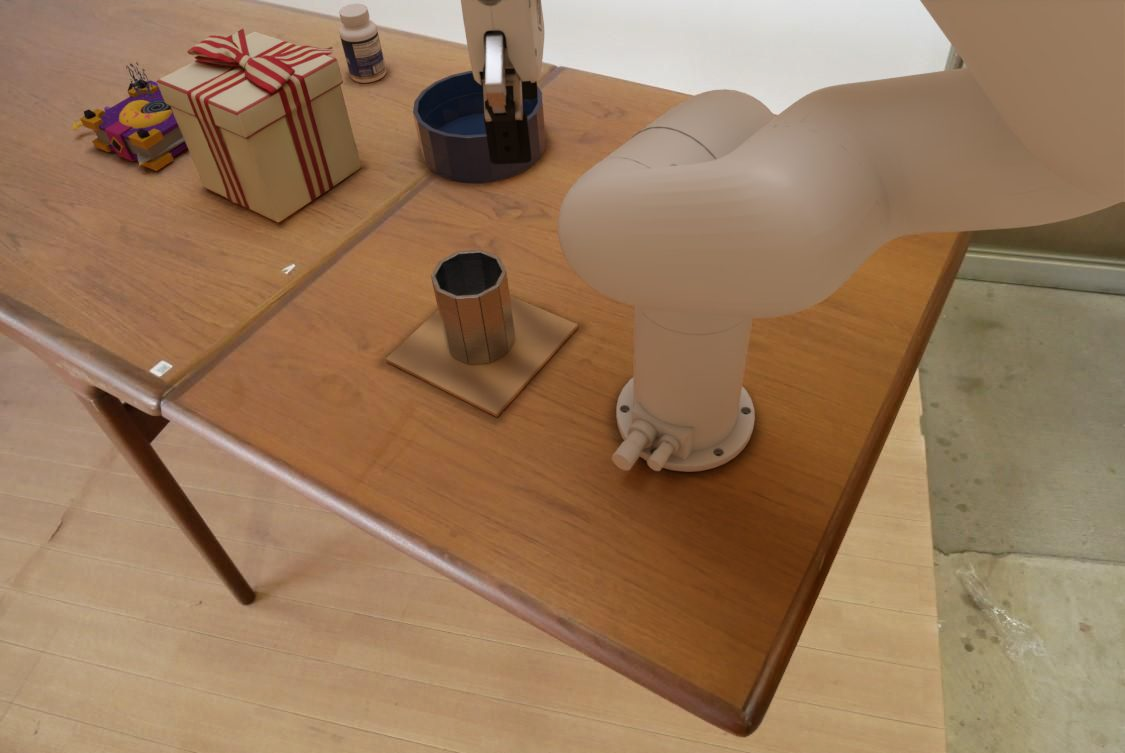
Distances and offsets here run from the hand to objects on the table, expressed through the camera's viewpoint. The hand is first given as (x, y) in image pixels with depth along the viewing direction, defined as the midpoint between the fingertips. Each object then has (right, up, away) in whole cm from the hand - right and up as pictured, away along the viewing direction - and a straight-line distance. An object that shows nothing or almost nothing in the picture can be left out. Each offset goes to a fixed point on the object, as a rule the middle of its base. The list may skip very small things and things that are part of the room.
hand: (515, 128), depth 69 cm
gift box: (-32, +6, +40) cm, 51 cm away
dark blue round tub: (-6, +10, +41) cm, 43 cm away
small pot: (-4, -17, +16) cm, 24 cm away
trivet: (-4, -17, +17) cm, 24 cm away
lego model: (-51, +12, +47) cm, 70 cm away
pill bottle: (-25, +24, +56) cm, 66 cm away
